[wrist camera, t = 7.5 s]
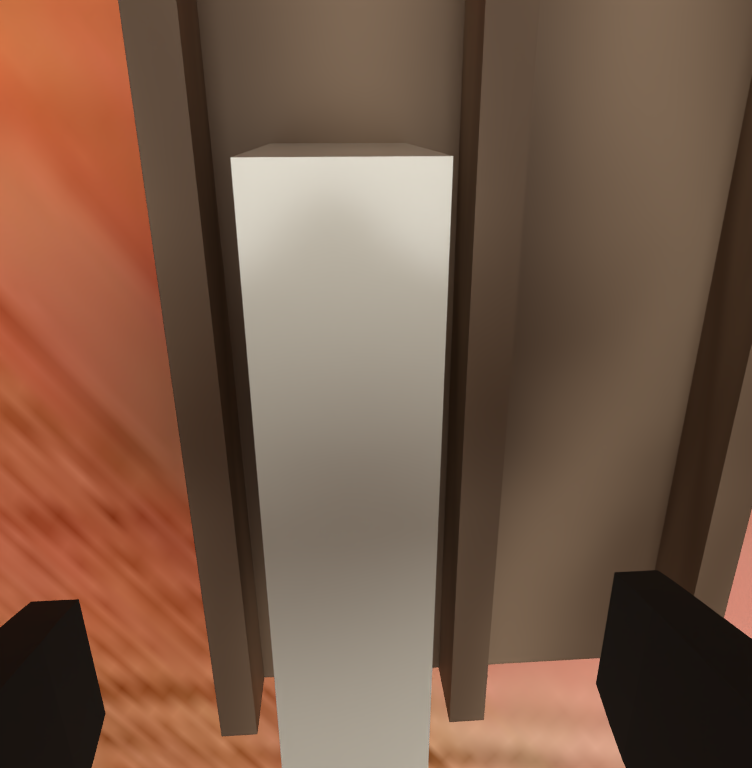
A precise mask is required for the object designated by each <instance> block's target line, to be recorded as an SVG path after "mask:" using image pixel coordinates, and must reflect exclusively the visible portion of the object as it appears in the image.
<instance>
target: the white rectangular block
mask: <svg viewBox="0 0 752 768" xmlns="http://www.w3.org/2000/svg"><path fill="white" fill-rule="evenodd" d="M230 159H231V171H232V183H233V194H234V206H235V218H236V230H237V242H238V253H239V265H240V277H241V289H242V301H243V313H244V324H245V336H246V348H247V360H248V372H249V383H250V395H251V407H252V419H253V431H254V443H255V454H256V466H257V478H258V490H259V502H260V513H261V525H262V537H263V549H264V561H265V573H266V584H267V596H268V608H269V620H270V632H271V643H272V655H273V667H274V679H275V691H276V703H277V714H278V726H279V738H280V750H281V762H282V768H428V757H429V733H430V709H431V685H432V661H433V636H434V612H435V588H436V564H437V540H438V515H439V491H440V467H441V443H442V419H443V395H444V370H445V346H446V322H447V298H448V274H449V250H450V225H451V201H452V177H453V156H451V155H447V154H444V153H440V152H437V151H433V150H430V149H426V148H422V147H419V146H415V145H412V144H408V143H270V144H267V145H264V146H262V147H259V148H256V149H253V150H250V151H247V152H244V153H242V154H239V155H236V156H233V157H230Z"/></svg>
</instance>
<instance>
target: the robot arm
mask: <svg viewBox="0 0 752 768" xmlns="http://www.w3.org/2000/svg"><path fill="white" fill-rule="evenodd" d="M596 685H597V688H598V691H599V694H600V697H601V700H602V703H603V706H604V709H605V712H606V715H607V718H608V721H609V724H610V727H611V730H612V732H613V735H614V738H615V741H616V743H617V746H618V749H619V752H620V754H621V757H622V760H623V762H624V764H625V767H626V768H752V639H751V638H750V637H748V636H747V635H746V634H744V633H743V632H742V631H740V630H739V629H738V628H736V627H735V626H734V625H732V624H731V623H730V622H728V621H727V620H726V619H724V618H723V617H722V616H720V615H719V614H718V613H716V612H715V611H714V610H712V609H711V608H710V607H708V606H707V605H706V604H704V603H703V602H702V601H700V600H699V599H698V598H696V597H695V596H694V595H692V594H691V593H689V592H688V591H687V590H685V589H684V588H683V587H681V586H680V585H678V584H677V583H676V582H674V581H673V580H672V579H670V578H669V577H667V576H666V575H664V574H663V573H661V572H660V571H658V570H648V571H629V572H614V578H613V584H612V590H611V597H610V603H609V609H608V615H607V621H606V627H605V633H604V639H603V645H602V651H601V657H600V663H599V669H598V675H597V681H596ZM104 717H105V710H104V705H103V701H102V697H101V692H100V688H99V684H98V680H97V675H96V671H95V667H94V663H93V658H92V654H91V650H90V646H89V641H88V637H87V633H86V629H85V624H84V620H83V616H82V611H81V607H80V603H79V599H77V600H57V601H37V602H30V603H29V604H28V605H27V606H25V607H24V608H23V609H22V610H21V611H19V612H18V613H17V614H16V615H14V616H13V617H12V618H11V619H10V620H9V621H7V622H6V623H5V624H4V625H3V626H2V627H0V768H91V767H92V764H93V760H94V756H95V752H96V748H97V745H98V741H99V737H100V733H101V729H102V725H103V721H104Z"/></svg>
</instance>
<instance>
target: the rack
mask: <svg viewBox="0 0 752 768" xmlns="http://www.w3.org/2000/svg"><path fill="white" fill-rule="evenodd" d="M118 3H119V10H120V17H121V24H122V31H123V38H124V45H125V53H126V60H127V67H128V74H129V81H130V88H131V95H132V102H133V109H134V117H135V124H136V131H137V138H138V145H139V152H140V159H141V166H142V173H143V180H144V188H145V195H146V202H147V209H148V216H149V223H150V230H151V237H152V244H153V252H154V259H155V266H156V273H157V280H158V287H159V294H160V301H161V308H162V316H163V323H164V330H165V337H166V344H167V351H168V358H169V365H170V372H171V379H172V387H173V394H174V401H175V408H176V415H177V422H178V429H179V436H180V443H181V451H182V458H183V465H184V472H185V479H186V486H187V493H188V500H189V507H190V515H191V522H192V529H193V536H194V543H195V550H196V557H197V564H198V571H199V578H200V586H201V593H202V600H203V607H204V614H205V621H206V628H207V635H208V642H209V650H210V657H211V664H212V671H213V678H214V685H215V692H216V699H217V706H218V714H219V721H220V728H221V735H222V736H236V735H251V734H257V733H258V725H259V716H260V708H261V700H262V692H263V683H264V677H274V667H273V655H272V643H271V632H270V620H269V608H268V596H267V584H266V573H265V561H264V549H263V537H262V525H261V513H260V502H259V490H258V478H257V466H256V454H255V443H254V431H253V419H252V407H251V395H250V383H249V372H248V360H247V348H246V336H245V324H244V313H243V301H242V289H241V277H240V265H239V253H238V242H237V230H236V218H235V206H234V194H233V183H232V171H231V159H230V157H233V156H236V155H239V154H242V153H244V152H247V151H250V150H253V149H256V148H259V147H262V146H264V145H267V144H270V143H408V144H412V145H415V146H419V147H422V148H426V149H430V150H433V151H437V152H440V153H444V154H447V155H451V156H453V177H452V201H451V225H450V250H449V274H448V298H447V322H446V346H445V370H444V395H443V419H442V443H441V467H440V491H439V515H438V540H437V564H436V588H435V612H434V636H433V661H432V668H434V667H439V671H440V676H441V682H442V687H443V692H444V697H445V702H446V707H447V712H448V717H449V722H458V721H474V720H484V710H485V697H486V684H487V672H488V664H504V663H521V662H538V661H556V660H573V659H590V658H600V657H601V651H602V645H603V639H604V633H605V627H606V621H607V615H608V609H609V603H610V597H611V590H612V584H613V578H614V572H629V571H648V570H658V571H660V572H661V573H663V574H664V575H666V576H667V577H669V578H670V579H672V580H673V581H674V582H676V583H677V584H678V585H680V586H681V587H683V588H684V589H685V590H687V591H688V592H689V593H691V594H692V595H694V596H695V597H696V598H698V599H699V600H700V601H702V602H703V603H704V604H706V605H707V606H708V607H710V608H711V609H712V610H714V611H715V612H716V613H718V614H719V615H720V616H722V617H723V618H724V615H725V611H726V607H727V603H728V599H729V595H730V591H731V587H732V584H733V580H734V576H735V572H736V568H737V564H738V560H739V556H740V552H741V548H742V545H743V541H744V537H745V533H746V529H747V525H748V521H749V517H750V513H751V509H752V0H118Z"/></svg>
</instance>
